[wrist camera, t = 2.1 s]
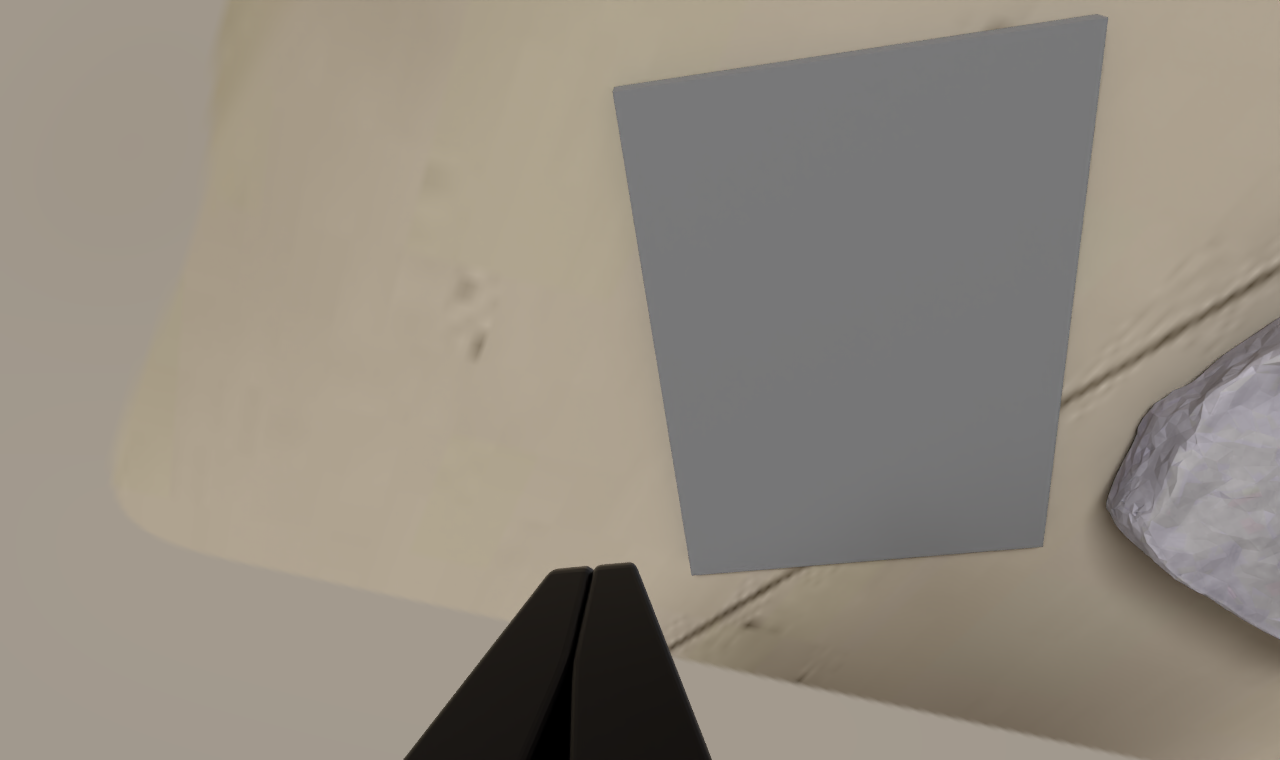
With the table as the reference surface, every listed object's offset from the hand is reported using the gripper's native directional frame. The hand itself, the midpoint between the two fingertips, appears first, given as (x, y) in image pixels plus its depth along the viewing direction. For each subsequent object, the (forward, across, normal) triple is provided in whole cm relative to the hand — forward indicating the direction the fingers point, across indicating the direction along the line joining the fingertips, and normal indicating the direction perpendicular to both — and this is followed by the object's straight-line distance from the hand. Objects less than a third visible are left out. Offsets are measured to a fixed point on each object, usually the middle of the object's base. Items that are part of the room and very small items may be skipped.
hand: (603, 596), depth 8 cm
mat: (+13, -4, +5) cm, 14 cm away
